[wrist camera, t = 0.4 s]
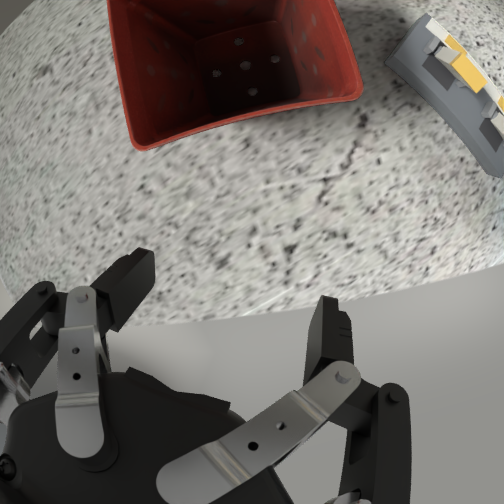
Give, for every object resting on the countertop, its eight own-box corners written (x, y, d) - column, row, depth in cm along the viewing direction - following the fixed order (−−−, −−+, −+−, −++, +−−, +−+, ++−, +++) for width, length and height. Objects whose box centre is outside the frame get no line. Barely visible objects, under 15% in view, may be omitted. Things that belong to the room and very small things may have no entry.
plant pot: (166, 32, 29) (104, -10, 14) (295, -2, 26) (298, -71, 10) (194, 146, 36) (133, 155, 21) (332, 115, 33) (367, 99, 17)
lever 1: (431, 53, 23) (450, 63, 17) (440, 44, 21) (461, 51, 15) (454, 76, 24) (477, 94, 18) (462, 67, 22) (488, 83, 16)
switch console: (383, 62, 28) (399, 52, 23) (415, 21, 24) (432, 8, 18) (486, 173, 31) (508, 181, 26) (511, 129, 27) (532, 132, 22)
